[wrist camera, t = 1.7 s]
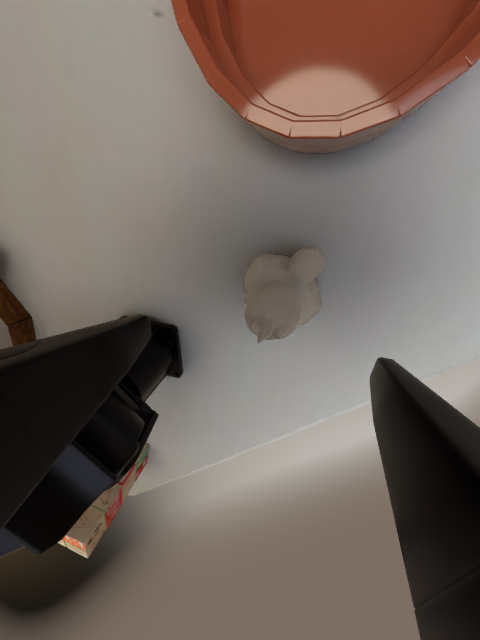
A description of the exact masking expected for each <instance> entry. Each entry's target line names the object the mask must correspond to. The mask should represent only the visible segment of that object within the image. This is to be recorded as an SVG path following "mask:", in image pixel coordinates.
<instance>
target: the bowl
mask: <svg viewBox="0 0 480 640" xmlns="http://www.w3.org/2000/svg"><path fill="white" fill-rule="evenodd" d="M171 2H172V5H173V9H174V13H175V17H176V20H177V24H178V26H179V30H180V32H181V33H182V35H183V37H184V39H185V41H186V43H187V45H188V47H189V49H190V50H191V52H192V54H193V56H194V58H195V60H196V62H197V64H198V66H199V68H200V69H201V71H202V73H203V75H204V77H205V79H206V81H207V82H208V84H209V85H210V86H211V87H212V88H213V89H214V90H215V91H216V92H217V93H218V94H219V95H220V96H221V97H222V98H223V99H224V100H225V101H226V102H227V103H228V104H229V105H230V106H231V107H232V108H233V109H234V110H235V111H236V112H237V113H238V114H239V115H240V116H241V117H242V118H243V119H244V120H245V121H246V122H247V123H248V124H249V125H250V126H252V127H253V128H254V129H255V130H256V131H257V132H258V133H259V134H260V135H261V136H262V137H263V138H265V139H267V140H269V141H271V142H274V143H276V144H278V145H281V146H283V147H285V148H288V149H290V150H292V151H295V152H296V151H297V152H316V153H333V152H337V151H340V150H343V149H346V148H349V147H352V146H355V145H358V144H361V143H364V142H367V141H370V140H373V139H375V138H376V137H378V136H380V135H381V134H383V133H384V132H386V131H387V130H389V129H390V128H392V127H393V126H394V125H396V124H397V123H399V122H400V121H402V120H403V119H405V118H406V117H408V116H409V115H410V114H412V113H413V112H415V111H416V110H418V109H419V108H420V107H422V106H423V105H424V104H426V103H427V102H428V101H429V100H431V99H432V98H433V97H434V96H436V95H437V94H438V93H440V92H441V91H442V90H443V89H445V88H446V87H447V86H448V85H450V84H451V83H452V82H454V81H455V80H456V79H457V78H459V77H460V76H461V75H462V74H464V73H465V72H466V71H467V70H468V69H469V68H471V67H472V66H473V65H474V64H475V63H476V62H477V61H478V60H479V59H480V0H171Z"/></svg>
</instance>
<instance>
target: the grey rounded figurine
mask: <svg viewBox="0 0 480 640" xmlns="http://www.w3.org/2000/svg"><path fill="white" fill-rule="evenodd" d="M324 268H325V259H324V257H323V255H322V254H321V253H320V251H319V250H318V249H317V248H316V247H313V246H307V247H303V248H301V249H299V250H298V251H297V252H296V253H295V254H294V255H293V257H292V258H291V257H287V256H283V255H272V254H262V255H260V256H258V257H257V258H256V259H255V260H254V261H253V262H252V264H251V265H250V266H249V268H248V269H247V271H246V272H245V275H244V279H243V287H244V291H245V303H246V308H245V319H246V323H247V326H248V328H249V329H250V331H251V332H253V333H254V334H255V335H257V336H258V343H260V342H261V341H262V340H263V339H265V340H269V339H281V338H284V337H286V336H288V335H289V334H291V333H292V332H293V331H294V330H295V328H296V327H297V326H298V325H302V324H305V323H306V322H308V321H309V320H310V319H311V318H312V317H313V316H314V315H315V314H317V313H318V312H319V311H320V309H321V306H322V301H321V295H320V292H319V290H318V285H317V283H316V281H315V278H316V277H317V276H318V275H319V274H320V273H321V272H322V271H323V269H324Z"/></svg>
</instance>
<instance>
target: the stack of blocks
mask: <svg viewBox="0 0 480 640" xmlns="http://www.w3.org/2000/svg"><path fill="white" fill-rule="evenodd" d="M148 448H149V445H148V444H146V443H145V445H144V447H143V449H142V451H141V454H140V455H139V457H138V459H137V461H136V462H135V464H134V465H133V466H132V468H131V469H130V470H129V471H128V473H127V474H126V475H125V476H124V477H123V478H122V479H121V480H120V481H119V482H118V483H117V484H115V485H114V486H113V487H111V488H110V489H108V490H106V491H104V492H103V493H102V494H101V495H100V496H99V497H98V498H97V499H96V500H95V501H94V502H93V503H92V504H91V505H90V507H89V508H88V509H87V510H86V511H85V512H84V514H83V515H82V516H81V517H80V518H79V520H78V521H77V522H76V523H75V524H74V526H73V527H72V528H71V529H70V530H69V532H68V533H67V534H66V535H65V537H64V538H63V539H62V540H61V541H59V542H58V543H59V544H61V545H63V546H65V547H68V548H69V549H71V550H72V551H75V552H76V553H78V554H80V555H82V556H84V557H86V558H88V557H89V556H90V554H91V552H92V551H93V549H94V547H95V546H96V544H97V542H98V541H99V539H100V538H101V536H102V534H103V533H104V531H105V529H107V528H108V526H109V525H110V523H111V522H112V520H113V518H114V517H115V515H116V513H117V512H118V510H119V508H120V507H121V505H122V503H123V501H124V499H125V498H126V496H127V494H128V493H129V491H130V489H131V488H132V486H133V484H134V482H135V481H136V480H137V478H138V476H139V475H140V473H141V471H142V470H143V468H144V467H145V465H146V463H147V456H148V455H147V454H148Z"/></svg>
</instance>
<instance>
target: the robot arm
mask: <svg viewBox="0 0 480 640" xmlns="http://www.w3.org/2000/svg"><path fill="white" fill-rule="evenodd" d="M171 330H173V331H171ZM182 373H183V372H182V363H181V354H180V345H179V336H178V329H177V328H176V327H175V326H173V325H168V324H163V323H158V322H154V321H150V320H149V318H148V317H147V316H145V315H140V314H137V315H133V316H129V317H128V316H122V317H121V318H119V319H118V320H114V321H110V322H106V323H102V324H98V325H94V326H90V327H87V328H83V329H79V330H75V331H71V332H67V333H63V334H59V335H55V336H52V337H48V338H44V339H40V340H36V341H32V342H28V343H24V344H20V345H16V346H12V347H7V348H3V349H0V558H2V557H4V556H6V555H8V554H10V553H12V552H14V551H16V550H19V549H21V548H23V547H24V548H26V549H27V550H29V551H30V552H32V553H33V554H35V555H38V554H41V553H43V552H44V551H46V550H47V549H49V548H50V547H52V546H53V545H55V544H56V543H58V542H59V541H61V540H62V539H63V538H64V537H65V535H66V534H67V533H68V532H69V530H70V529H71V528H72V527H73V526H74V524H75V523H76V522H77V521H78V520H79V518H80V517H81V516H82V515H83V514H84V512H85V511H86V510H87V509H88V508H89V507H90V505H91V504H92V503H93V502H94V501H95V500H96V499H97V498H98V497H99V496H100V495H101V494H102V493H103V492H104V491H106V490H108V489H110V488H111V487H113V486H114V485H115V484H117V483H118V482H119V481H120V480H121V479H122V478H123V477H124V476H125V475H126V474H127V473H128V471H129V470H130V469H131V468H132V466H133V465H134V464H135V462H136V461H137V459H138V457H139V455H140V454H141V451H142V449H143V447H144V445H145V443H146V441H147V439H148V437H149V435H150V432H151V430H152V428H153V426H154V424H155V422H156V420H157V418H158V414H157V413H156V411H155V410H154V411H153V410H152V409H151V408H150V407H149V406H148V405H147V404H146V403H145V401H146V400H147V399H148V398H149V396H150V395H151V394H152V393H153V391H154V390H155V389H156V388H157V386H158V385H159V384H160V383H161V381H162V380H163V379H164V378H165V377H166V375H169V376H172V377H176V378H179V377H181V375H182ZM370 390H371V402H372V412H373V422H374V427H375V432H376V437H377V441H378V446H379V450H380V455H381V459H382V464H383V468H384V473H385V478H386V482H387V487H388V491H389V496H390V501H391V505H392V510H393V514H394V519H395V523H396V528H397V533H398V537H399V541H400V546H401V551H402V555H403V560H404V564H405V569H406V574H407V578H408V583H409V587H410V592H411V596H412V601H413V605H414V608H415V615H416V620H417V625H418V629H419V633H420V638H421V640H480V427H478V426H477V425H476V424H475V423H473V422H472V421H470V420H469V419H468V418H467V417H466V416H464V415H463V414H462V413H460V412H459V411H458V410H457V409H455V408H454V407H453V406H451V405H450V404H449V403H448V402H446V401H445V400H444V399H442V398H441V397H440V396H439V395H437V394H436V393H435V392H433V391H432V390H431V389H430V388H428V387H427V386H426V385H425V384H423V383H422V382H421V381H420V380H418V379H417V378H416V377H414V376H413V375H412V374H411V373H409V372H408V371H407V370H405V369H404V368H403V367H402V366H400V365H399V364H398V363H396V362H395V361H394V360H392V359H388V358H382V357H380V358H378V359H377V361H376V363H375V366H374V368H373V371H372V373H371V376H370Z"/></svg>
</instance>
